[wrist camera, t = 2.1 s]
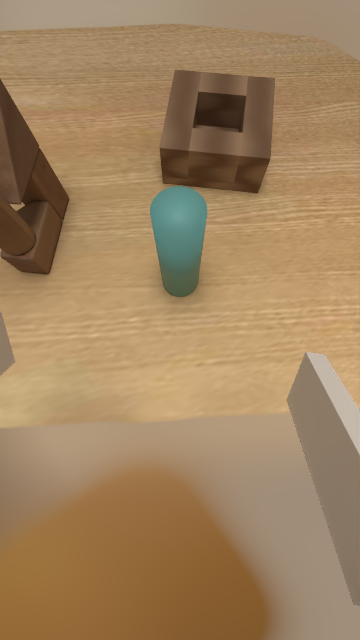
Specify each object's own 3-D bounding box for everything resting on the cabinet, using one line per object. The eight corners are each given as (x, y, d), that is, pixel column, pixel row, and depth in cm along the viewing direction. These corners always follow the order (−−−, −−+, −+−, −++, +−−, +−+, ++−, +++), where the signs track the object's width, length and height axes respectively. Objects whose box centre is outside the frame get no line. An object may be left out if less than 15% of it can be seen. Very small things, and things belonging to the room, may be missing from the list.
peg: (160, 294, 30) (145, 231, 18) (165, 262, 31) (154, 183, 19) (195, 298, 29) (203, 238, 18) (199, 266, 30) (210, 189, 19)
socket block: (163, 182, 33) (159, 147, 29) (176, 112, 37) (175, 69, 32) (257, 192, 33) (270, 158, 28) (262, 120, 36) (275, 78, 31)
